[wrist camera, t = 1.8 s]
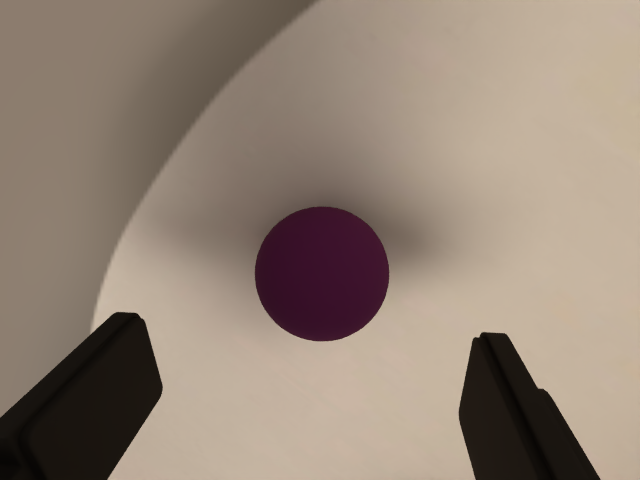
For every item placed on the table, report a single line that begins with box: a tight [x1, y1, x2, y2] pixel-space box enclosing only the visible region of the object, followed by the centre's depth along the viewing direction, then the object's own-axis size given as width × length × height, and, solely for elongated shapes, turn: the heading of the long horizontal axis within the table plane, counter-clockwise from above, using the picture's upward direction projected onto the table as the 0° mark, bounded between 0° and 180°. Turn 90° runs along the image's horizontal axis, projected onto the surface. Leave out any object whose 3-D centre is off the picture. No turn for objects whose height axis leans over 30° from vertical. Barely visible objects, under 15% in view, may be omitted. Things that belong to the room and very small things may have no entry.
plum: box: [255, 207, 389, 341], centre depth 14 cm, size 5×5×5 cm
